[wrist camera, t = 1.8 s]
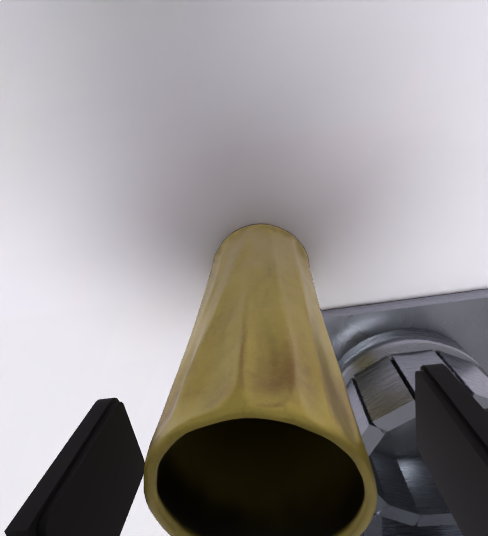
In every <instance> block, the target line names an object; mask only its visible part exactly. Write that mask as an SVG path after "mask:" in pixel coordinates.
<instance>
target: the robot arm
mask: <svg viewBox="0 0 488 536" xmlns="http://www.w3.org/2000/svg"><path fill="white" fill-rule="evenodd" d="M415 415H416V443H417V447H418V450H419V453H420V455H421V457H422V459H423V460H424V462H425V464H426V466H427V468H428V470H429V472H430V474H431V476H432V478H433V480H434V481H435V483H436V485H437V487H438V489H439V491H440V493H441V495H442V497H443V499H444V500H445V502H446V504H447V506H448V508H449V510H450V512H451V514H452V516H453V518H454V520H455V521H456V523H457V525H458V527H459V529H460V531H461V533H462V535H463V536H488V408H486V409H483V408H482V406H481V405H480V404H479V403H478V402H477V401H476V400H475V398H474V397H473V396H472V395H471V394H470V393H469V392H468V390H467V389H466V388H465V387H464V386H463V385H462V384H461V382H460V381H459V380H458V379H457V378H456V377H455V376H454V374H453V373H452V372H451V371H450V370H449V369H448V368H447V366H445V365H444V364H442V363H440V364H430V365H422V366H421V368H420V371H416V372H415ZM144 465H145V462H144V458H143V456H142V453H141V450H140V448H139V445H138V442H137V439H136V437H135V434H134V431H133V428H132V426H131V423H130V420H129V417H128V415H127V412H126V409H125V407H124V404H123V403H122V402H119V400H118V399H117V398H108V399H99V400H97V401H96V402H95V404H94V405H93V407H92V408H91V409H90V411H89V412H88V414H87V415H86V416H85V418H84V419H83V421H82V422H81V424H80V425H79V426H78V428H77V429H76V431H75V432H74V433H73V435H72V436H71V438H70V439H69V441H68V442H67V443H66V445H65V446H64V448H63V449H62V450H61V452H60V453H59V455H58V456H57V458H56V459H55V460H54V462H53V463H52V465H51V466H50V467H49V469H48V470H47V472H46V473H45V475H44V476H43V477H42V479H41V480H40V482H39V483H38V484H37V486H36V487H35V489H34V490H33V492H32V493H31V494H30V496H29V497H28V499H27V500H26V501H25V503H24V504H23V506H22V507H21V509H20V510H19V511H18V513H17V514H16V516H15V517H14V518H13V520H12V521H11V523H10V524H9V526H8V527H7V528H6V530H5V531H4V532H5V534H6V536H120V533H121V531H122V528H123V526H124V523H125V521H126V518H127V516H128V513H129V510H130V508H131V505H132V503H133V500H134V498H135V495H136V492H137V490H138V487H139V485H140V482H141V480H142V477H143V474H144Z"/></svg>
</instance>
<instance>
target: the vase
mask: <svg viewBox="0 0 488 536" xmlns="http://www.w3.org/2000/svg"><path fill="white" fill-rule="evenodd" d="M144 494H145V499H146V502H147V505H148V507H149V509H150V511H151V512H152V514H153V516H154V517H155V518H156V520H157V521H158V522H159V524H160V525H161V526H162V527H163V529H164V530H165V531H166V532H167V533H168V534H169V535H170V536H360V535H361V534H362V533H363V532H364V531H365V530H366V528H367V527H368V525H369V524H370V522H371V520H372V517H373V515H374V512H375V509H376V504H377V487H376V482H375V477H374V473H373V470H372V467H371V463H370V460H369V457H368V453H367V451H366V448H365V445H364V442H363V439H362V436H361V433H360V430H359V427H358V424H357V421H356V418H355V415H354V412H353V409H352V406H351V402H350V399H349V396H348V392H347V389H346V386H345V382H344V379H343V376H342V373H341V370H340V368H339V365H338V362H337V359H336V356H335V353H334V350H333V347H332V344H331V341H330V338H329V336H328V333H327V330H326V327H325V323H324V320H323V317H322V313H321V310H320V307H319V304H318V300H317V295H316V292H315V287H314V284H313V279H312V275H311V272H310V270H309V261H308V257H307V254H306V252H305V249H304V248H303V246H302V245H301V243H300V242H299V241H298V240H297V239H296V238H295V237H294V236H293V235H292V234H290V233H289V232H287V231H285V230H283V229H281V228H278V227H275V226H272V225H265V224H257V225H249V226H246V227H243V228H241V229H239V230H237V231H235V232H234V233H232V234H230V235H229V236H228V237H227V238H226V239H225V240H224V241H223V243H222V244H221V246H220V248H219V249H218V251H217V253H216V255H215V257H214V262H213V267H212V270H211V273H210V276H209V280H208V283H207V286H206V290H205V293H204V296H203V299H202V303H201V306H200V309H199V312H198V315H197V319H196V322H195V325H194V328H193V331H192V334H191V336H190V339H189V342H188V345H187V348H186V351H185V353H184V356H183V358H182V361H181V364H180V367H179V370H178V372H177V375H176V378H175V380H174V383H173V385H172V388H171V391H170V393H169V396H168V399H167V402H166V404H165V407H164V410H163V413H162V415H161V418H160V421H159V423H158V426H157V428H156V431H155V433H154V436H153V438H152V440H151V443H150V446H149V450H148V453H147V457H146V461H145V465H144Z"/></svg>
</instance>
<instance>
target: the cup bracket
mask: <svg viewBox="0 0 488 536" xmlns="http://www.w3.org/2000/svg"><path fill="white" fill-rule="evenodd" d="M321 313H322V317H323V320H324V323H325V327H326V330H327V333H328V336H329V338H330V341H331V344H332V347H333V350H334V353H335V356H336V359H337V362H338V365H339V368H340V370H341V373H342V376H343V379H344V382H345V386H346V389H347V392H348V396H349V399H350V402H351V406H352V409H353V412H354V415H355V418H356V421H357V424H358V427H359V430H360V433H361V436H362V439H363V442H364V445H365V448H366V451H367V453H368V457H369V460H370V463H371V467H372V470H373V473H374V477H375V482H376V487H377V504H376V509H375V512H374V515H373V517H372V520H371V522H370V524H369V525H368V527H367V528H366V530H365V531H364V532H363V533H362V534H361V535H360V536H463V535H462V533H461V531H460V529H459V527H458V525H457V523H456V521H455V520H454V518H453V516H452V514H451V512H450V510H449V508H448V506H447V504H446V502H445V500H444V499H443V497H442V495H441V493H440V491H439V489H438V487H437V485H436V483H435V481H434V480H433V478H432V476H431V474H430V472H429V470H428V468H427V466H426V464H425V462H424V460H423V459H422V457H421V455H420V453H419V450H418V447H417V443H416V415H415V372H416V371H420V368H421V366H422V365H430V364H440V363H442V364H444V365H445V366H447V368H448V369H449V370H450V371H451V372H452V373H453V374H454V376H455V377H456V378H457V379H458V380H459V381H460V382H461V384H462V385H463V386H464V387H465V388H466V389H467V390H468V392H469V393H470V394H471V395H472V396H473V397H474V398H475V400H476V401H477V402H478V403H479V404H480V405H481V406H482V408H483V409H486V408H488V289H483V290H476V291H468V292H461V293H453V294H445V295H438V296H430V297H423V298H415V299H408V300H400V301H393V302H385V303H378V304H370V305H362V306H355V307H347V308H340V309H332V310H325V311H321Z"/></svg>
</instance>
